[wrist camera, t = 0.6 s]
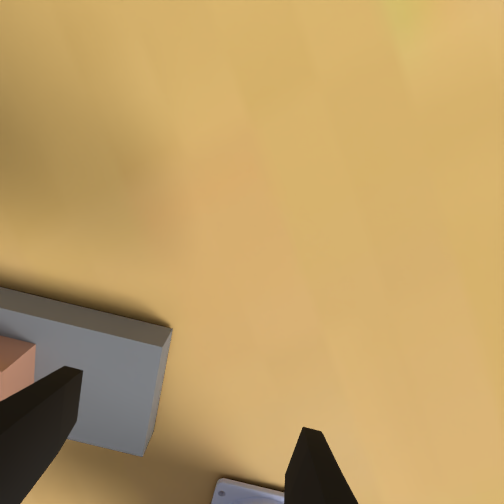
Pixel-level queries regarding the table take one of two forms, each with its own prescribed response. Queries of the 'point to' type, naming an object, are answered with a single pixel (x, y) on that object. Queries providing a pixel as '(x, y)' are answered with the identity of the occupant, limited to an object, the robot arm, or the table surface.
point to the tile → (15, 365)
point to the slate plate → (95, 364)
